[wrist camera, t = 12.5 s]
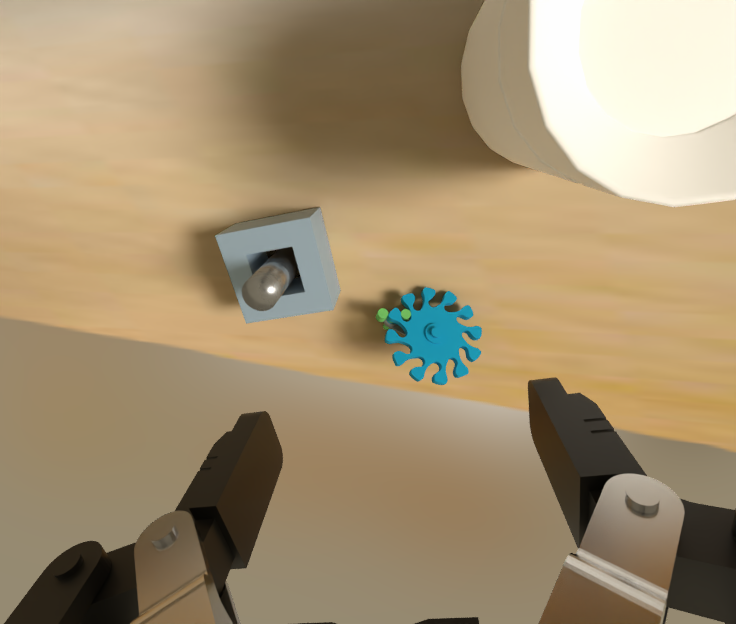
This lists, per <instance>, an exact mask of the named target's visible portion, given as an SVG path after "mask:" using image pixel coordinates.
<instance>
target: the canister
mask: <svg viewBox="0 0 736 624" xmlns="http://www.w3.org/2000/svg"><path fill="white" fill-rule="evenodd" d="M461 80H462V99H463V102H464V105H465V108H466V110H467V113H468V116H469V119H470V122H471V124H472V127H473V128H474V130H475V131H476V132H477V133H478V135H479V136H480V137H481V138H482V140H483V141H484V142H485V143H486V145H487V146H488V147H489V148H490V149H491V150H493V151H494V152H496V153H498V154H499V155H501V156H503V157H504V158H506V159H508V160H509V161H511V162H513V163H516V164H519V165H522V166H525V167H528V168H531V169H534V170H537V171H540V172H544V173H547V174H550V175H553V176H556V177H559V178H562V179H565V180H568V181H572V182H575V183H580V184H583V185H584V186H587V187H590V188H593V189H597V190H600V191H603V192H606V193H609V194H612V195H615V196H618V197H622V198H627V199H632V200H638V201H643V202H648V203H654V204H659V205H664V206H670V207H681V206H689V205H697V204H705V203H713V202H721V201H729V200H735V199H736V0H485V1H484V3H483V5H482V7H481V8H480V10H479V12H478V14H477V16H476V18H475V20H474V22H473V24H472V26H471V27H470V29H469V32H468V37H467V41H466V45H465V50H464V54H463V58H462V63H461Z"/></svg>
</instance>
